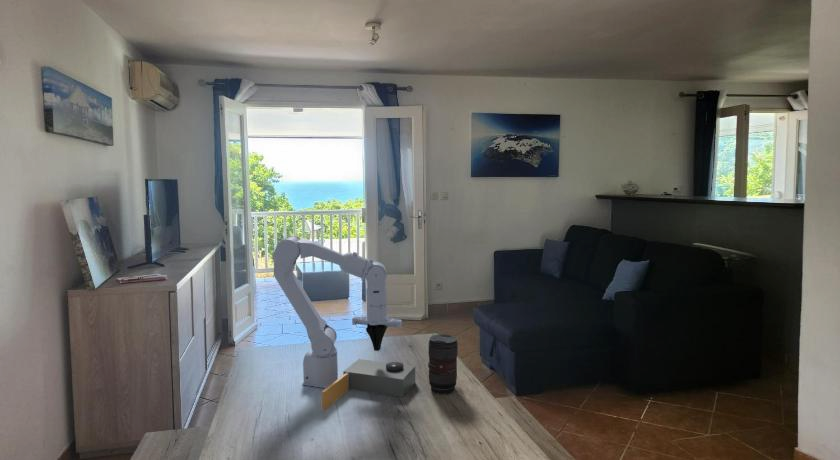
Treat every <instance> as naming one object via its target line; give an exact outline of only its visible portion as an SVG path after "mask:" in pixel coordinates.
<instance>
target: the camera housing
mask: <svg viewBox="0 0 840 460" xmlns="http://www.w3.org/2000/svg"><path fill="white" fill-rule="evenodd" d="M347 372H348V373H349V390H354V391H360V392H366V393H371V394H382V395H388V396H395V397H401V398H403V397H404V396H405V395H406V394H407V393H408V392H409V391H410V390H411V388H412V387H413V386H414V385H415V384H416V366H415V365H409V364H403V362H400V361H391V362H385V361H377V360H368V359H361V358H358V359H357V360H356V361H355V362H353V363H352V364H351V365H349V366H348V367H346V368H345V369H344V370H343V372H342V373H343V375H344V374H345V373H347ZM343 375H342V376H343Z"/></svg>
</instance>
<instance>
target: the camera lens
mask: <svg viewBox="0 0 840 460" xmlns="http://www.w3.org/2000/svg"><path fill="white" fill-rule="evenodd" d="M458 349H459V347H458V339H457V337H456V336H454V335H450V334H443V333H442V334H441V333H440V334H434V335H431V336H429V341H428V360H429V361H428V362H427V366H428V367H427V368H428V381H429V382H428V383H429V386H430V391H431V392H432V393H434V394H436V395H449V394H452V393H454V392H455V389H456V385H457V378H458V369H457V367H458V361H457V360H458V352H459V351H458Z"/></svg>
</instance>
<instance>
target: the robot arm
mask: <svg viewBox="0 0 840 460" xmlns="http://www.w3.org/2000/svg"><path fill="white" fill-rule="evenodd" d="M272 257H273V276H274V279H275V280H276V282H277V283H278V285H279V287H280V288H281V290H282V292H283V294H285V296H286V298H287V300H288V301H289V303H290V304H291V306H292V307H293V310H294V311H295V312H296V314H297V316H298V317H299V319H300V321H301V323H302V324H303V325H304V326H303V327H305V330H306V334H307V338H308V339H309V341H310V344H311V345H310V346H311V347H310V348H311V350H308V351H307V352H306V353H305V354H304V357H303V361H302V371H303V382H302V385H303V386H310V387H316V388H321V389H326V388H327V387H328V386H329V385H331V384H332V383H333V382H335V381H336V380H337V379H339V378H340V377H341V376H342V375H341V376H340V375H339V373H338V372H339V371H338V369H339V366H338V348H336V346H335V342H336V340H337V337H338V336H337V332H336V330H335V329H334V328H333V327H332V326H330V325H329V324H328V323H327V321H326V319H324V318H322V317H321V315H320V314H319V312H318V311H317V309H316V307H315V306H314V304H313V302H312V301H311V299H310V297H309V296H308V294H307V292H306V290H305V289H304V287H303V286H302V284H301V283H300V280H299V279H298V277H297V276H296V274H295V272H294V270H295V266H296V264H297V261H298V259H299V257H300V259H305V258H309V257H313V258H316V259H320V260H323V261H326V262H328V263H332V264H334V265H338V266H339V268H340V270H341V272H343V273H346V274H349V275H351V276H354V277H357V278H359V279H365V280H366V283H367V284H366V286H367V288H366V291H365V292H366V315H365V316H353V317H352V318H351V319H352V320H351V321H352V322H351V324H352V325H354V326H356V325H364V326H365V325H366V328H365V331H366V333H367V334H368V336H369V338H370V340H371V342H372V346H373V350H374V352H375V351H376V352H379V351H380V350H381V348H382V344H383V343H382V342H383V338H384V336H385V334H386V331H387V330H388V327H393V328H396V329H401V328H402V326H403V322H402V321H403V320H402V319H398V318H392V317H388V316H387V288H386V286H387V282H386V280H387V269H386V267H385V265H384V264H383V263H382V262H380V261H379V260H374V259H373V258H365V257H363V256H360V255H359V253H358V252H356V251H353V252H347V253H344V254H343V253H340V252H338V251H336V250H333V249H331V248H330V247H329V248H328V247H327V246H324V245H322V244H320V243H317V242H315V241H312V240H310V239H307V238H303V237H299V236H297V235H288V236H286V237H284V239H283V240H281V241H280V242H278V243H277V244H276V247H275V249H274V251H273V254H272Z"/></svg>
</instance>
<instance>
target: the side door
mask: <svg viewBox="0 0 840 460" xmlns="http://www.w3.org/2000/svg"><path fill="white" fill-rule="evenodd" d="M348 391H350V389H349V373H348V372H347V373H345V374H344V375H341V377H340V378H339V379H337V380H336V381H335V382H333V383H332V384H331V385H329V386H328V387H327V388H323V390H322V391H321V409H322V410H327V408H329V407H330V406H331V405H333V404H334V403H335V402H336V401H337V400H338V399H340V398H341V397H342V396H343V395H345V394H346V393H347V392H348Z"/></svg>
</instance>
